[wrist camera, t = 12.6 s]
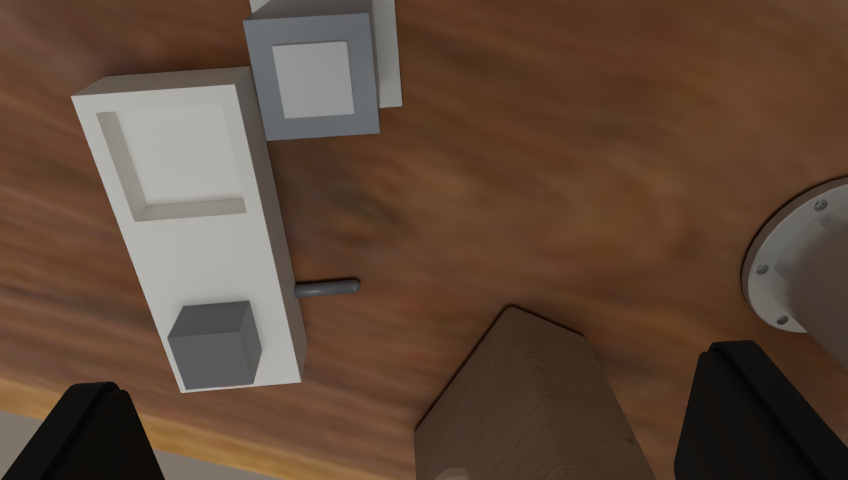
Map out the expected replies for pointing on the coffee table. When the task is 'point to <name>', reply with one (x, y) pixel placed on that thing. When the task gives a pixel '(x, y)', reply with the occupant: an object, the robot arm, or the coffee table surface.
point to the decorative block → (529, 412)
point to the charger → (315, 67)
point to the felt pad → (379, 50)
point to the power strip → (202, 222)
